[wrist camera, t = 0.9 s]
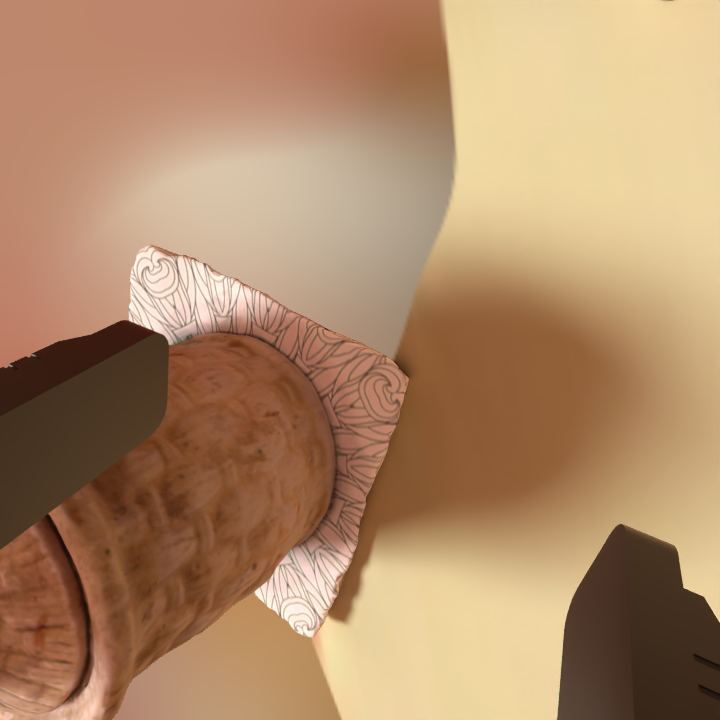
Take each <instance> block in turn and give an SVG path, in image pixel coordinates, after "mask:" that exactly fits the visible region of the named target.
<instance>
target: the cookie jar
mask: <svg viewBox="0 0 720 720" xmlns="http://www.w3.org/2000/svg"><path fill="white" fill-rule="evenodd" d="M130 290H131V294H130V299H131V301H132V302H131V303H130V305H129V321H131V322H133V323H136V324H138V325H141V326H143V327H146V328H148V329H151V330H153V331H155V332H158V333H160V334H163V335H164V336H165V337H166V338H167V340H168V343H169V366H168V394H167V408H166V412H165V416H164V418H163V420H162V422H161V424H160V425H159V427H158V428H157V430H156V431H155V432H154V433H153V434H152V435H151V436H150V437H149V438H147V439H146V440H145V441H143V442H142V443H141V444H139V445H138V446H137V447H136V448H134V449H133V450H132V451H130V452H129V453H128V454H126V455H125V456H124V457H122V458H121V459H120V460H118V461H117V462H116V463H114V464H113V465H112V466H110V467H109V468H108V469H106V470H105V471H104V472H103V473H101V474H100V475H99V476H97V477H96V478H95V479H93V480H92V481H91V482H89V483H88V484H87V485H85V486H84V487H83V488H81V489H80V490H79V491H77V492H76V493H75V494H74V495H72V496H71V497H70V498H68V499H67V500H66V501H64V502H63V503H62V504H60V505H59V506H58V507H56V508H55V509H54V510H52V511H51V512H50V513H48V514H47V515H46V516H44V517H43V518H42V519H41V520H39V521H38V522H37V523H35V524H34V525H33V526H31V527H30V528H29V529H27V530H26V531H25V532H23V533H22V534H21V535H19V536H18V537H17V538H15V539H14V540H13V541H12V542H10V543H9V544H8V545H6V546H5V547H4V548H2V549H1V550H0V720H112V719H113V718H114V716H115V715H116V714H117V713H118V711H119V709H120V706H121V704H122V701H123V699H124V696H125V693H126V690H127V688H128V686H129V684H130V682H131V681H132V679H133V678H134V677H136V676H137V675H138V674H140V673H141V672H143V671H144V670H145V669H146V668H148V667H149V666H150V665H151V664H152V663H153V662H155V661H156V660H158V659H159V658H160V657H162V656H163V655H165V654H166V653H168V652H169V651H171V650H173V649H174V648H176V647H178V646H180V645H182V644H183V643H185V642H187V641H188V640H190V639H191V638H192V637H194V636H195V635H197V634H199V633H201V632H203V631H204V630H205V629H206V628H208V627H209V626H210V625H212V624H213V623H214V622H215V621H216V620H218V619H219V618H220V617H221V616H222V615H223V614H224V613H225V612H226V611H227V610H229V609H230V608H231V607H232V606H233V605H235V604H236V603H237V602H239V601H240V600H242V599H244V598H245V597H247V596H248V595H250V594H252V593H254V594H255V595H256V596H257V597H258V598H259V599H261V600H262V601H263V602H264V603H265V605H266V606H268V607H269V608H270V609H272V610H275V611H276V612H277V614H278V615H279V616H280V617H281V618H283V619H285V620H287V621H288V622H289V623H290V625H291V627H292V629H294V630H295V631H296V632H297V633H300V634H302V635H304V636H307V637H311V638H312V637H313V636H315V635H316V634H317V632H318V630H319V629H320V628H321V626H322V625H323V623H324V621H325V619H326V617H327V614H328V611H329V609H330V608H331V607H332V606H333V603H334V599H335V598H336V597H337V596H338V595H339V584H340V582H341V580H342V578H343V575H344V574H345V572H346V571H347V570H348V568H349V566H350V564H351V561H352V558H353V555H354V552H355V549H356V546H357V544H358V534H359V528H360V521H361V518H362V516H363V513H364V510H365V507H366V496H367V494H368V493H369V491H370V489H371V487H372V485H373V483H374V480H375V477H376V475H377V473H378V471H379V469H380V467H381V464H382V462H383V460H384V458H385V456H386V453H387V450H388V446H389V441H390V437H391V435H392V433H393V431H394V429H395V427H396V426H397V423H398V419H399V416H400V412H399V411H400V409H401V406H402V403H403V400H404V395H405V392H406V389H407V386H408V383H409V378H408V377H407V376H405V375H404V374H403V372H402V371H401V370H400V369H399V368H398V366H397V365H396V364H395V363H394V362H393V360H391V359H390V358H388V357H387V356H384V355H382V354H380V353H379V352H377V351H375V350H373V349H371V348H369V347H367V346H366V345H364V344H362V343H360V342H358V341H355V340H352V339H350V338H347V337H345V336H343V335H340V334H337V333H335V332H333V331H330V330H328V329H326V328H324V327H322V326H320V325H319V324H317V323H315V322H313V321H311V320H310V319H308V318H306V317H304V316H302V315H300V314H297V313H295V312H293V311H291V310H288V309H287V308H286V307H284V306H283V305H281V304H279V303H278V302H277V301H276V300H274V299H272V298H271V297H269V296H268V295H267V294H264V293H262V292H260V291H258V290H255V289H253V288H251V287H249V286H247V285H245V284H243V283H242V282H240V281H239V280H238V279H235V278H231V277H227V276H224V275H222V274H220V273H218V272H216V271H214V270H213V269H212V268H211V267H210V266H209V265H208V264H205V263H201V262H199V261H197V260H196V259H195V258H190V257H188V256H186V255H183V256H181V255H178V254H174V253H172V252H169V251H167V250H164V249H162V248H160V247H157V246H154V245H148V246H145V247H144V248H143V249H141V250H139V251H138V252H137V254H136V262H135V264H134V266H133V267H132V269H131V279H130Z"/></svg>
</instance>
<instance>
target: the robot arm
mask: <svg viewBox="0 0 720 720" xmlns="http://www.w3.org/2000/svg"><path fill="white" fill-rule="evenodd" d="M168 366H169V343H168V340H167V338H166V337H165V336H164V335H163V334H160V333H158V332H155V331H153V330H151V329H148V328H146V327H143V326H141V325H138V324H136V323H133V322H131V321H127V320H123V321H120V322H117V323H115V324H113V325H111V326H109V327H107V328H105V329H102V330H100V331H98V332H96V333H94V334H92V335H87V336H82V337H78V338H73V339H68V340H63V341H58V342H56V343H54V344H52V345H50V346H48V347H45V348H43V349H41V350H39V351H37V352H34V353H32V355H31V357H30V358H28V357H24V358H21V359H19V360H17V361H15V362H13V363H10V364H9V366H8V368H4V367H2V368H0V550H1V549H2V548H4V547H5V546H6V545H8V544H9V543H10V542H12V541H13V540H14V539H15V538H17V537H18V536H19V535H21V534H22V533H23V532H25V531H26V530H27V529H29V528H30V527H31V526H33V525H34V524H35V523H37V522H38V521H39V520H41V519H42V518H43V517H44V516H46V515H47V514H48V513H50V512H51V511H52V510H54V509H55V508H56V507H58V506H59V505H60V504H62V503H63V502H64V501H66V500H67V499H68V498H70V497H71V496H72V495H74V494H75V493H76V492H77V491H79V490H80V489H81V488H83V487H84V486H85V485H87V484H88V483H89V482H91V481H92V480H93V479H95V478H96V477H97V476H99V475H100V474H101V473H103V472H104V471H105V470H106V469H108V468H109V467H110V466H112V465H113V464H114V463H116V462H117V461H118V460H120V459H121V458H122V457H124V456H125V455H126V454H128V453H129V452H130V451H132V450H133V449H134V448H136V447H137V446H138V445H139V444H141V443H142V442H143V441H145V440H146V439H147V438H149V437H150V436H151V435H152V434H153V433H154V432H155V431H156V430H157V428H158V427H159V425H160V424H161V422H162V420H163V418H164V416H165V412H166V408H167V394H168ZM557 720H720V623H719V621H718V619H717V618H716V616H715V615H714V613H713V611H712V610H711V608H710V606H709V605H708V603H707V601H706V600H705V598H704V597H703V596H701V595H698V594H696V593H694V592H691V591H689V590H687V589H684V588H683V583H682V576H681V570H680V563H679V557H678V552H677V549H676V547H675V546H674V545H672V544H669V543H667V542H664V541H662V540H659V539H657V538H655V537H652V536H650V535H647V534H645V533H642V532H640V531H637V530H635V529H633V528H630V527H628V526H625V525H623V524H619V525H617V526H616V527H615V528H614V530H613V531H612V532H611V534H610V535H609V537H608V539H607V540H606V542H605V544H604V545H603V547H602V549H601V550H600V552H599V554H598V555H597V557H596V559H595V560H594V562H593V564H592V565H591V567H590V568H589V570H588V572H587V573H586V575H585V577H584V578H583V580H582V582H581V583H580V585H579V587H578V588H577V590H576V592H575V594H574V596H573V599H572V601H571V604H570V607H569V610H568V614H567V618H566V622H565V629H564V640H563V653H562V666H561V679H560V692H559V705H558V717H557Z"/></svg>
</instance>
